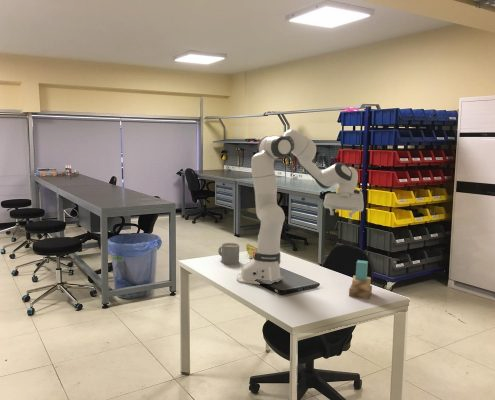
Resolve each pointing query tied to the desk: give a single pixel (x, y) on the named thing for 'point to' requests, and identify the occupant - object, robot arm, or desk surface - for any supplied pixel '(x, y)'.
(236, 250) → the coffee mug
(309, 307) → the desk surface
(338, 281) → the desk surface
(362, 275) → the teal pillar
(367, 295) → the walnut base block
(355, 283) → the oak top block
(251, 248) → the plastic component
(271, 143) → the robot arm
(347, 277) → the desk surface
